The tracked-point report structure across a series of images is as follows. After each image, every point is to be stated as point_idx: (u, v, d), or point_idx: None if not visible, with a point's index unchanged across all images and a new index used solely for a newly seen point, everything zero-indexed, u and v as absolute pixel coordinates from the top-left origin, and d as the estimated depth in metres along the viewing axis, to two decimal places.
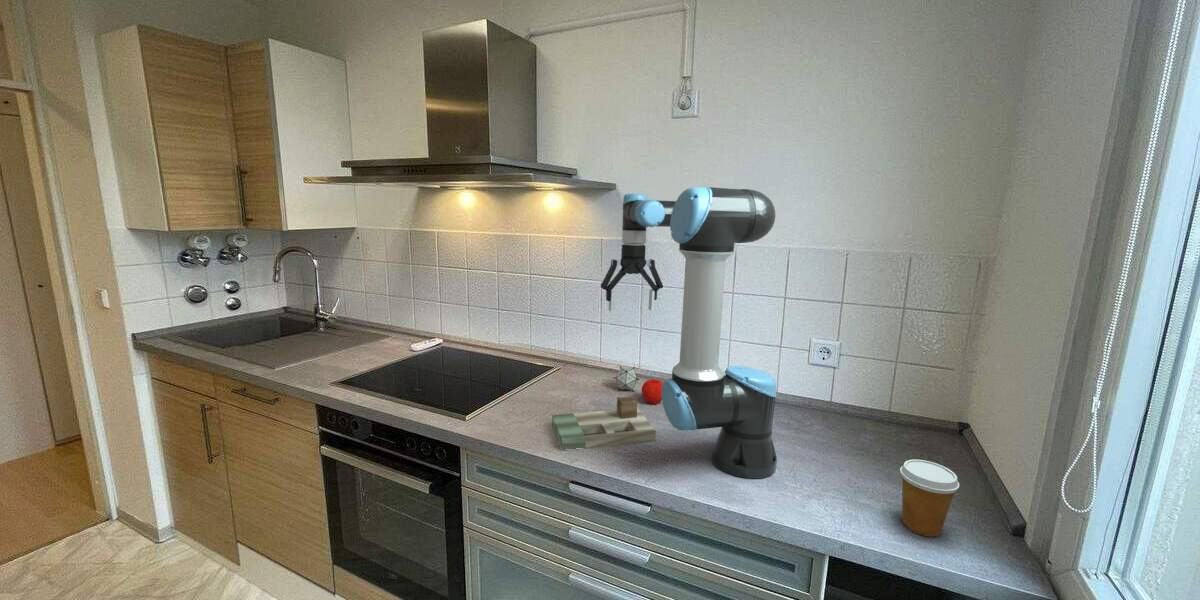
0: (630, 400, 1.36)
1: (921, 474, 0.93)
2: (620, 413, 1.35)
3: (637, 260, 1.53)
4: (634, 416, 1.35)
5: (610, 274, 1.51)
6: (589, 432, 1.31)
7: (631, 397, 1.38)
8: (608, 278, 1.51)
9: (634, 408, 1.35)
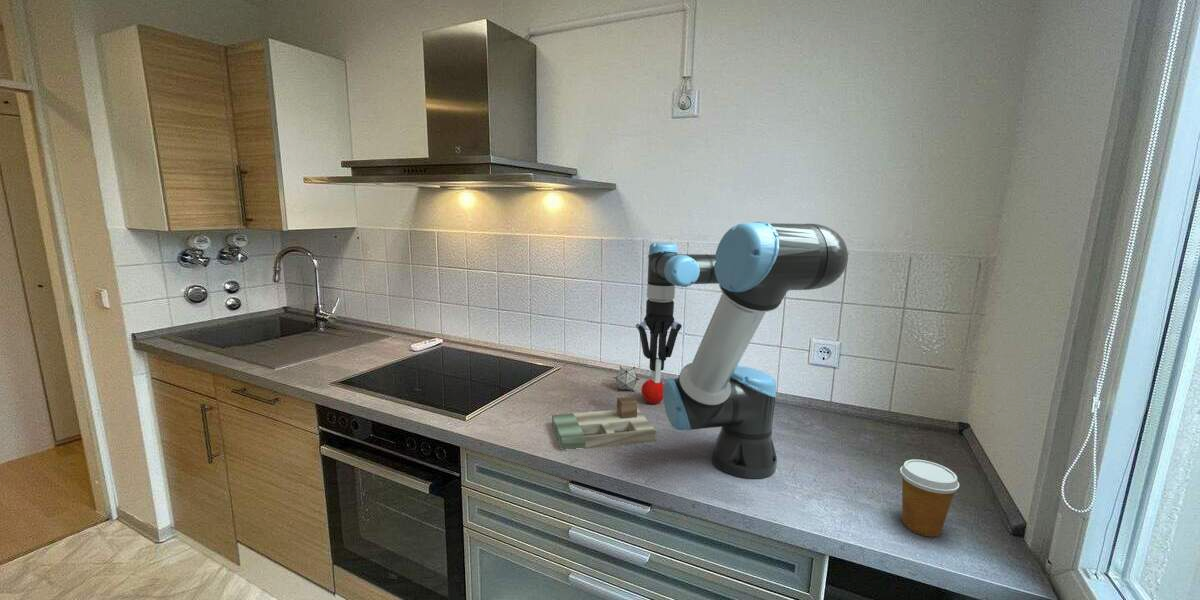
0: (630, 400, 1.36)
1: (921, 474, 0.93)
2: (620, 413, 1.35)
3: None
4: (634, 416, 1.35)
5: (645, 341, 1.34)
6: (589, 432, 1.31)
7: (631, 397, 1.38)
8: (646, 346, 1.34)
9: (634, 408, 1.35)
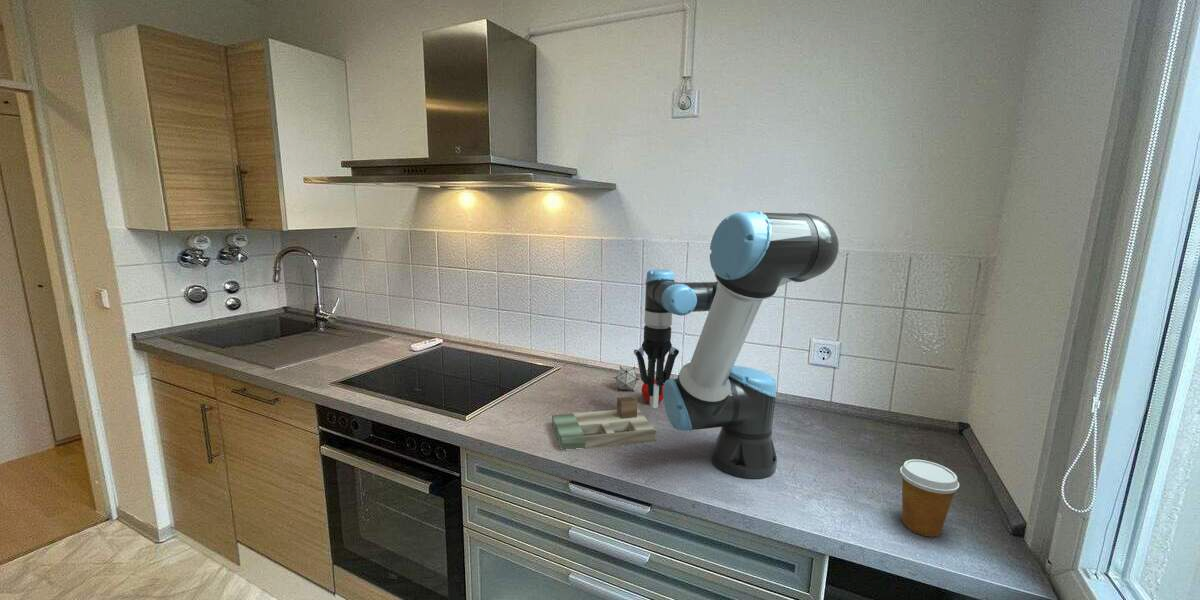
0: (630, 400, 1.36)
1: (921, 474, 0.93)
2: (620, 413, 1.35)
3: None
4: (634, 416, 1.35)
5: (642, 367, 1.35)
6: (589, 432, 1.31)
7: (631, 397, 1.38)
8: (643, 372, 1.35)
9: (634, 408, 1.35)
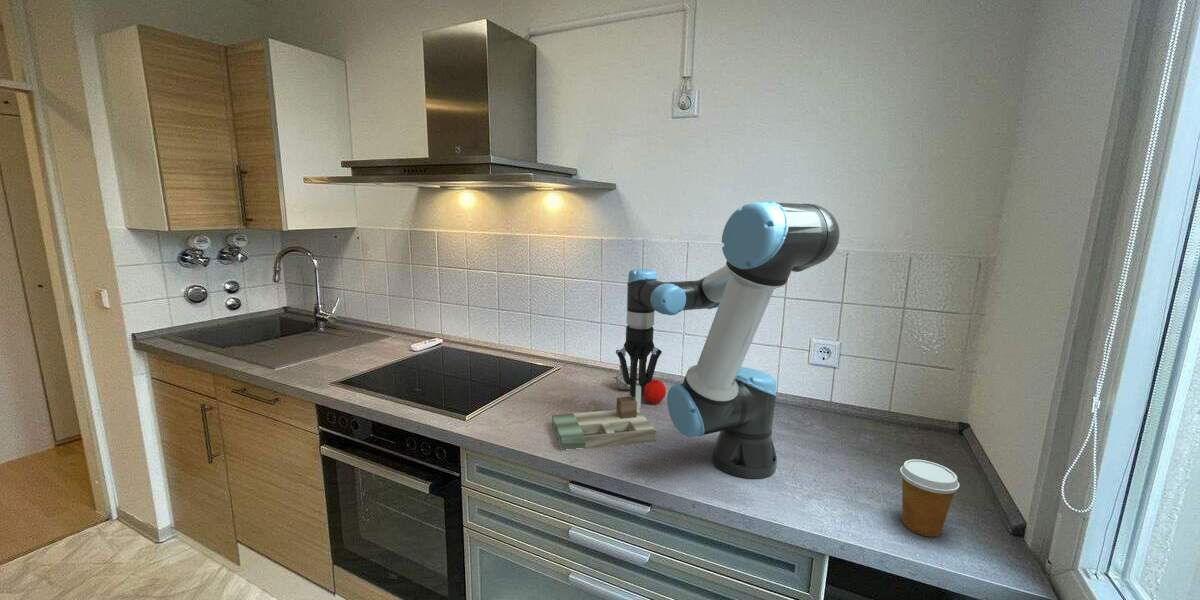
0: (630, 400, 1.36)
1: (921, 474, 0.93)
2: (620, 413, 1.35)
3: None
4: (634, 416, 1.35)
5: (624, 367, 1.33)
6: (589, 432, 1.31)
7: (631, 397, 1.38)
8: (625, 372, 1.34)
9: (633, 408, 1.35)
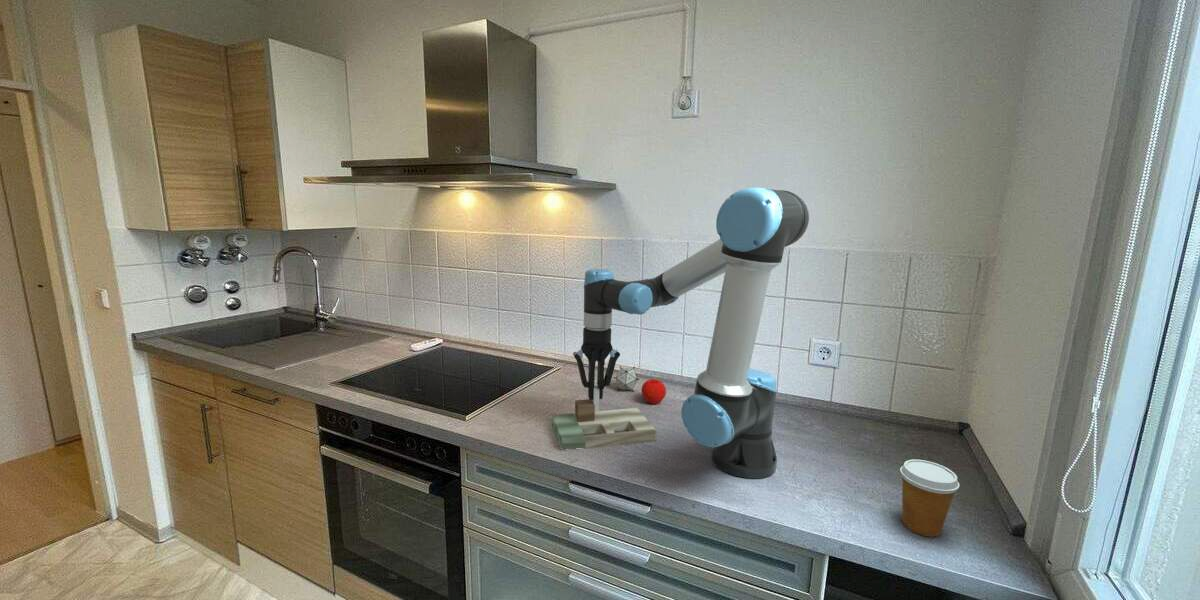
0: (588, 404, 1.33)
1: (921, 474, 0.93)
2: (577, 416, 1.32)
3: None
4: (591, 419, 1.32)
5: (581, 370, 1.30)
6: (589, 432, 1.31)
7: (589, 400, 1.35)
8: (582, 375, 1.31)
9: (591, 411, 1.32)
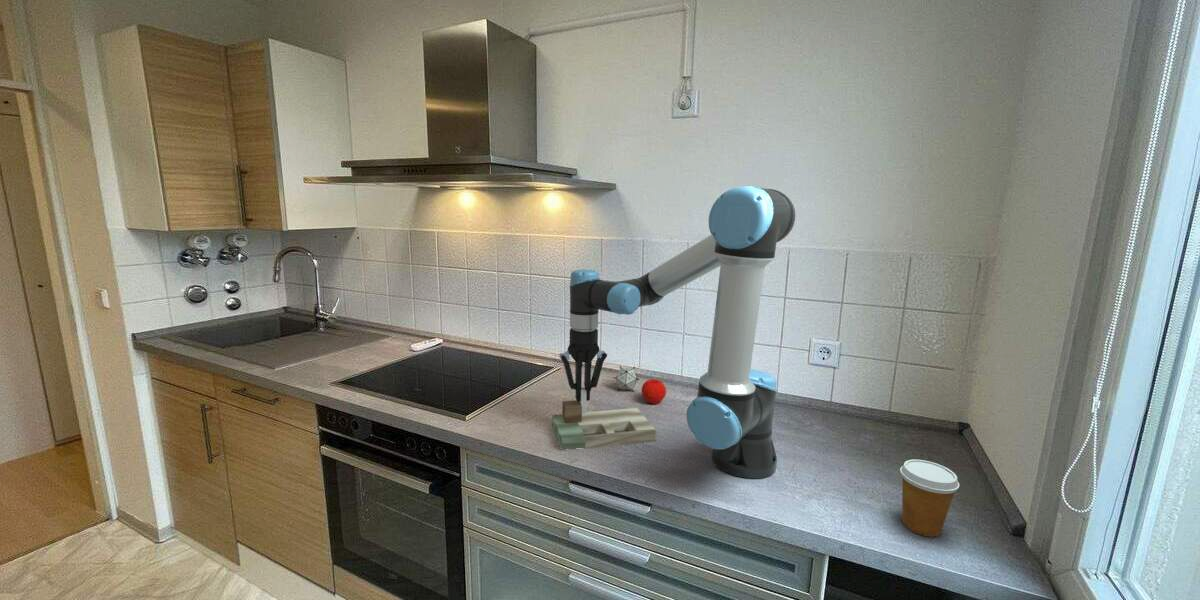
0: (575, 405, 1.32)
1: (921, 474, 0.93)
2: (564, 418, 1.31)
3: None
4: (579, 421, 1.32)
5: (568, 371, 1.29)
6: (589, 432, 1.31)
7: None
8: (569, 376, 1.30)
9: (578, 412, 1.31)
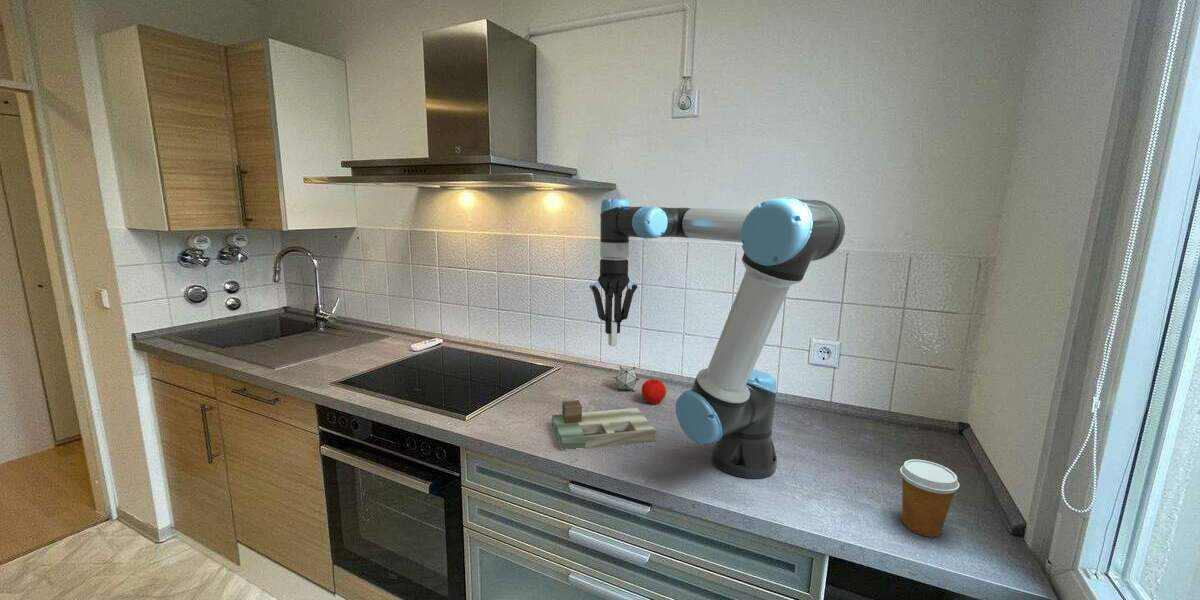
0: (575, 405, 1.32)
1: (921, 474, 0.93)
2: (564, 418, 1.31)
3: (622, 273, 1.29)
4: (579, 421, 1.32)
5: (599, 302, 1.28)
6: (589, 432, 1.31)
7: (577, 401, 1.34)
8: (600, 307, 1.29)
9: (578, 412, 1.31)
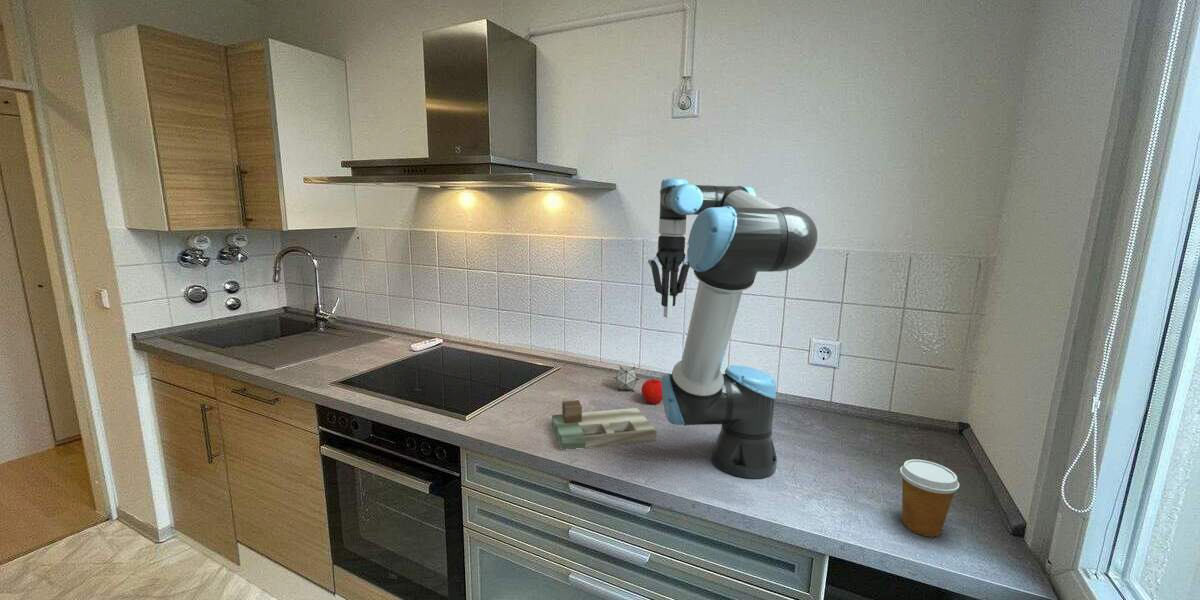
0: (575, 405, 1.32)
1: (921, 474, 0.93)
2: (564, 418, 1.31)
3: (679, 249, 1.38)
4: (579, 421, 1.32)
5: (657, 276, 1.37)
6: (589, 432, 1.31)
7: (577, 401, 1.34)
8: (658, 281, 1.38)
9: (578, 412, 1.31)
